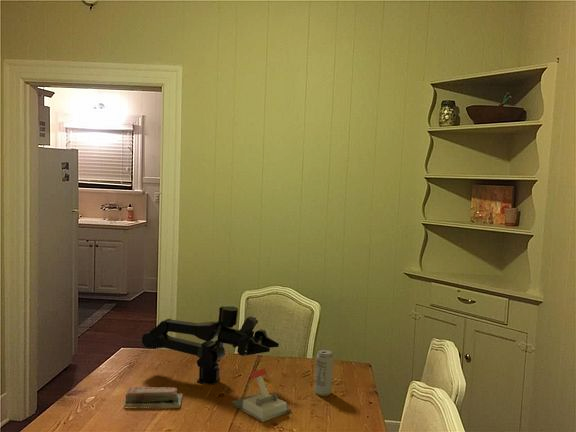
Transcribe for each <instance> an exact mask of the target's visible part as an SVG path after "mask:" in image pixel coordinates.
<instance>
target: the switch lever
mask: <svg viewBox="0 0 576 432" xmlns="http://www.w3.org/2000/svg"><path fill="white" fill-rule="evenodd" d="M266 375H267V370H266V368H264V367H263V368H261V369H258V370H254V371H252V372H250V373H249V377H250V379H251V380H254V379H256V381H257V384H258V386H259V389H260V390H259V391H260V393H261V394H262V396H263V398H264V399H261V400H262V403H264V402H267V401H270V400H273V399H274V396H270V397H269V395H268V394H269V392H268V389H267V386H266V383H265V381H264V378H263V377H265V376H266Z"/></svg>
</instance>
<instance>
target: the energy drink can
mask: <svg viewBox="0 0 576 432" xmlns="http://www.w3.org/2000/svg"><path fill="white" fill-rule="evenodd" d="M333 370H334V356H333V352H332V351H331V350H329V349H319V350H318V352H317V354H316V358H315V373H314V374H315V375H314V377H315V378H314V392H315V394H316V395H318V396H320V397H328V396H329V395H330V394H331V393H332V391H333V390H332V389H333V375H334V374H333V373H334V372H333Z"/></svg>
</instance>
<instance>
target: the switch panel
mask: <svg viewBox="0 0 576 432" xmlns="http://www.w3.org/2000/svg"><path fill="white" fill-rule="evenodd" d="M268 395H269V397H270V396H274V399H273V400H270V401H267V402H264V403H262V400H261V399H264V398H263V396H262V393H261V392H257V393H254V394H251V395H248V396H244V397H242V398H239V399H235V400H232V401H231V405H232V406H234V407H235V408H237V409H239V410H240V411H242V412H244V413H246V414H248V415H249V416H251V417H253V418H255V420H258V421H260V422H262V423H263V422H266V421H269V420H272V419H275V418H277V417H280V416H282V415H286V414H288V413H291V412H292V411H291V410H292V409H291V408H290V407H288V404H287V402H286V401H284V400H282V399H279V398H278V395H277V394H275V393H272V394H270V393H268Z"/></svg>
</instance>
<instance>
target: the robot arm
mask: <svg viewBox="0 0 576 432" xmlns="http://www.w3.org/2000/svg"><path fill="white" fill-rule="evenodd" d="M218 312H219V313H218V320H217V321H204V322H197V323H196V322H191V321H185V320H184V321H183V320H178V319H172V318H166V319H164V320H162V321H160V322H159V324H157V325H156V326H155V327H154V328H152V329H151V330H150V331H148V332H146V333H144V334H143V335H142V337H141V343H142V345H143V347H144V348H146V349H163V348H164V349H168V350H172V351H176V352H180V353H184V354H188V355H192V356H196V357H197V358H198V359H197V360H196V364H197V365H196V366H197V367H198V368H199V369H198V371H199V373H198V379H197V380H196V382H197V383H202V384H208V385H214V384H215V383H216V382H217V381H219V380H220V379H221V378H220V368H219V363H220V361H221V359H222V358H224V356H225V352H226V350H225V347H224V344H226V345H230V346H232V348H237V350H236V351H237V354H238V356H241V357H242V356H243V357H245V356H252V355H256V354H257V355H258V354H263V353H270V350H271V348H278V347H279V345H280V343H279V342H277V341H275V340H273V339H271V338H270V337H269V336H268V335H267V332H266V329H261V328H260V329H258V330H257V331H254V328H255V327H256V325H257V324H258V322H259V320H257V318H256V317H253V316H251V315H250V316H248V317H246V318H245V320H244V322H243V324H242V326H241V327H240V329H236V328H234V326H237V323H238V322H237V321H238V314H239V308H238V307H237V306H229V305H228V306H220V307H219V310H218ZM170 332H171V333H177V334H184V335H189V336H195V337H196V338H197V339H199V340H202V341H203V343H200V342H195V341H192V340H187V339H183V338H179V337H176V336H175V337H174V336H172V335H171V336H170V335H168V333H170ZM215 338H217V340H213V339H215Z"/></svg>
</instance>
